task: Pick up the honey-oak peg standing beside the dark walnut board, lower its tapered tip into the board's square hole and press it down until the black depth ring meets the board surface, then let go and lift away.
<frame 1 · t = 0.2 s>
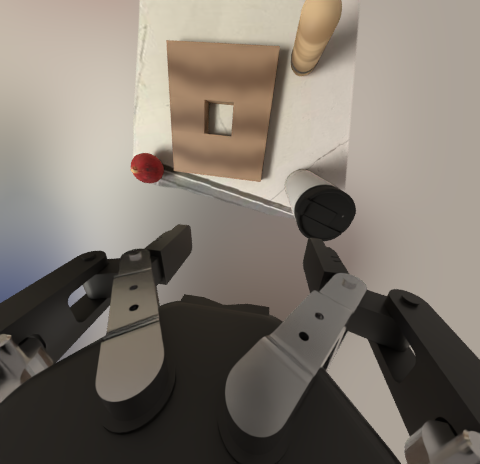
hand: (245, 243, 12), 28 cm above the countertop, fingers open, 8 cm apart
red egg-shaped piece: (158, 166, 40), on the countertop
walnut board: (221, 120, 35), on the countertop
oak peg: (302, 63, 29), on the countertop
travel mug: (299, 184, 37), on the countertop
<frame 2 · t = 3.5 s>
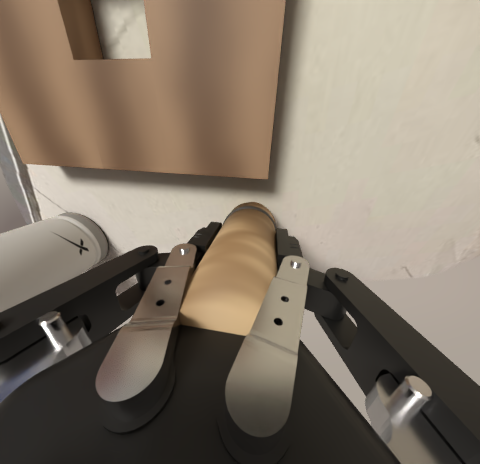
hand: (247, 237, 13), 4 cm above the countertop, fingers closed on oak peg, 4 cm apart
walnut board: (130, 24, 12), on the countertop
oak peg: (252, 219, 16), on the countertop, touching gripper
travel mug: (85, 235, 21), on the countertop
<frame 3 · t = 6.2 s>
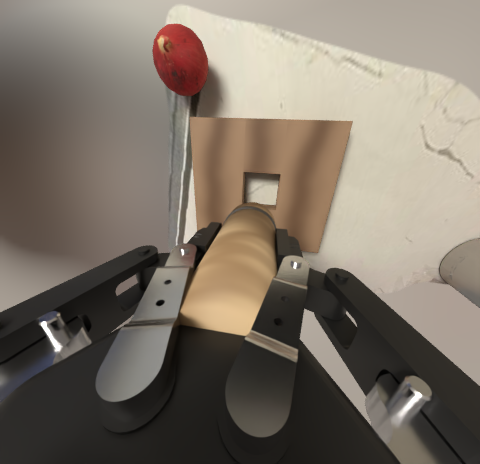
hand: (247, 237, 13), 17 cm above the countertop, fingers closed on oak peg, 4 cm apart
red egg-shaped piece: (195, 75, 24), on the countertop
walnut board: (261, 188, 28), on the countertop
oak peg: (252, 219, 17), point 13 cm above the countertop, touching gripper
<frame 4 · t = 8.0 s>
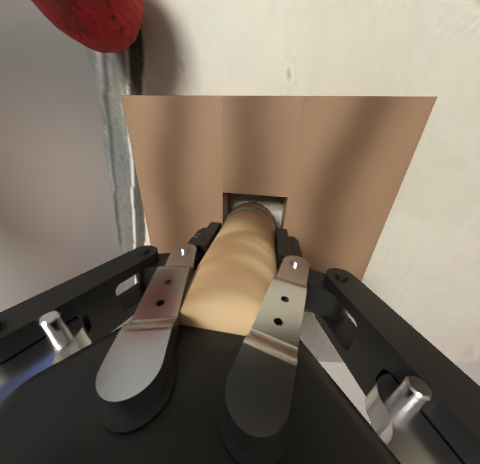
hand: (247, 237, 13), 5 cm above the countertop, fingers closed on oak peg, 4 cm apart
red egg-shaped piece: (132, 20, 13), on the countertop
walnut board: (254, 215, 18), on the countertop
oak peg: (252, 219, 17), point 1 cm above the countertop, touching gripper
when the fingers open (4 cm above the countertop, at t = 9.2 s): oak peg stays where it is, resting in walnut board.
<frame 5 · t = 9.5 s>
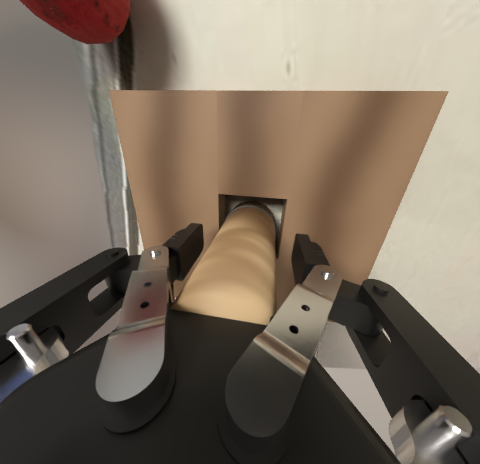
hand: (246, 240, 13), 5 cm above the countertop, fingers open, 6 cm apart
red egg-shaped piece: (120, 10, 12), on the countertop
walnut board: (252, 217, 17), on the countertop
oak peg: (252, 217, 17), resting in walnut board
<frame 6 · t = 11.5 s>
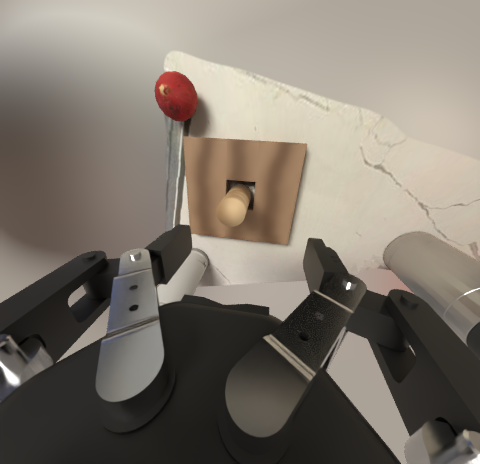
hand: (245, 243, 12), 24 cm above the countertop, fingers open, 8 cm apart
red egg-shaped piece: (187, 103, 30), on the countertop
walnut board: (241, 192, 35), on the countertop
oak peg: (241, 192, 35), resting in walnut board
travel mug: (196, 258, 44), on the countertop
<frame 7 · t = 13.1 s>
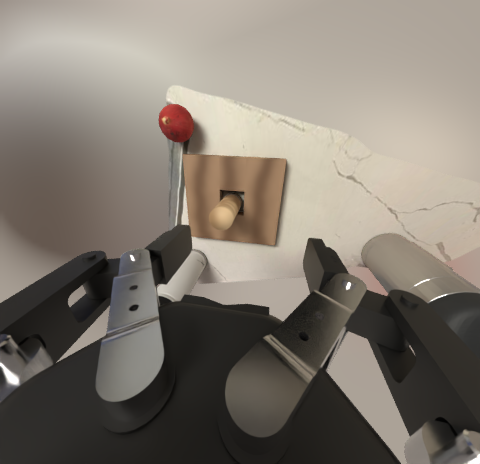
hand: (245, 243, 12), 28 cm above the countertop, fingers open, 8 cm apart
red egg-shaped piece: (186, 126, 36), on the countertop
walnut board: (234, 199, 40), on the countertop
oak peg: (234, 200, 40), resting in walnut board
travel mug: (196, 258, 49), on the countertop
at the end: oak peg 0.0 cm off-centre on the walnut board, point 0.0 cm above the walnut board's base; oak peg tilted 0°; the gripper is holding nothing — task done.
